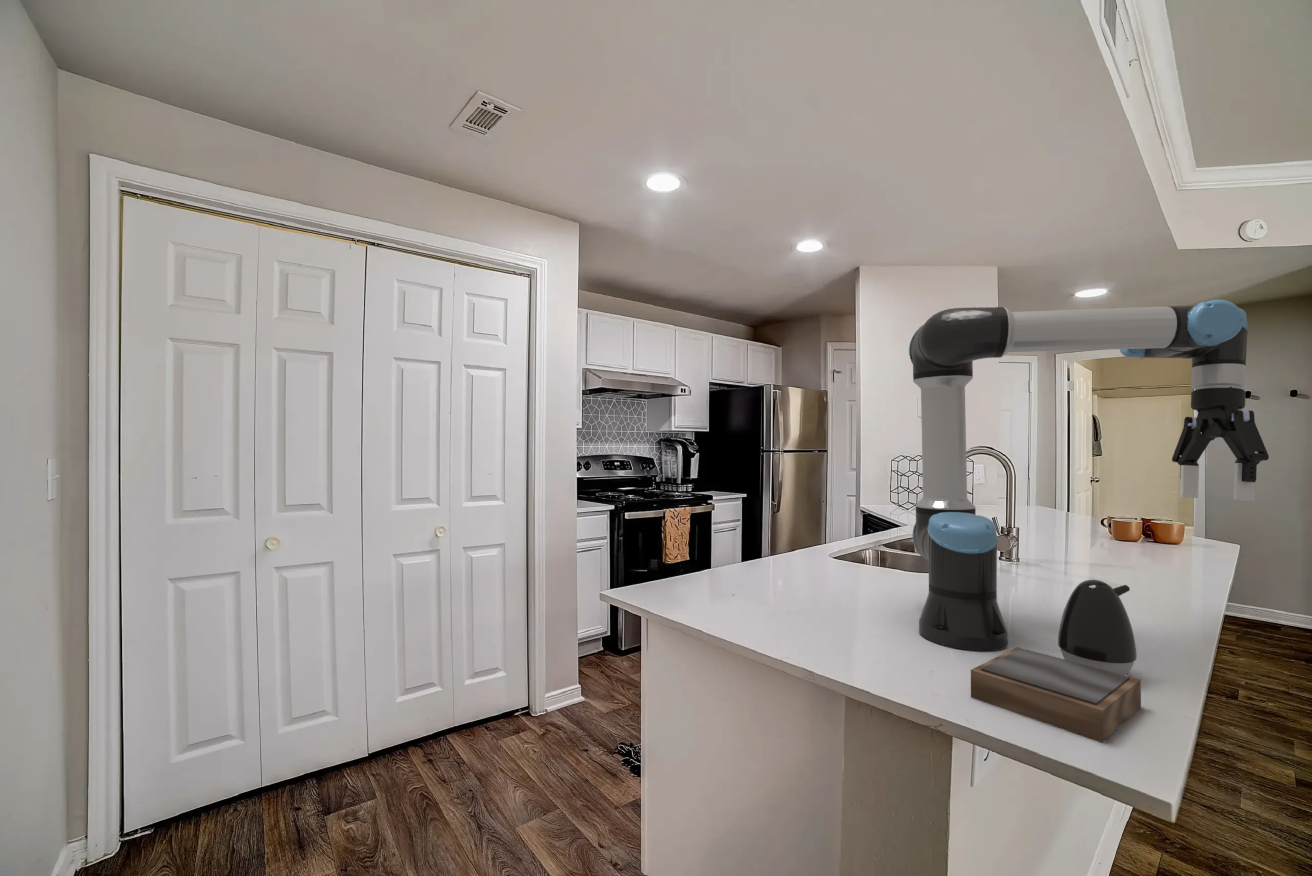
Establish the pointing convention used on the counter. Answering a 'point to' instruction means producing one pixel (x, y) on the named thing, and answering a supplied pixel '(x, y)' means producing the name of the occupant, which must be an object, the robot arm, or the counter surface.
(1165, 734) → the counter surface
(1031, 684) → the walnut riser
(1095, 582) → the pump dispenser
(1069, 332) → the robot arm
